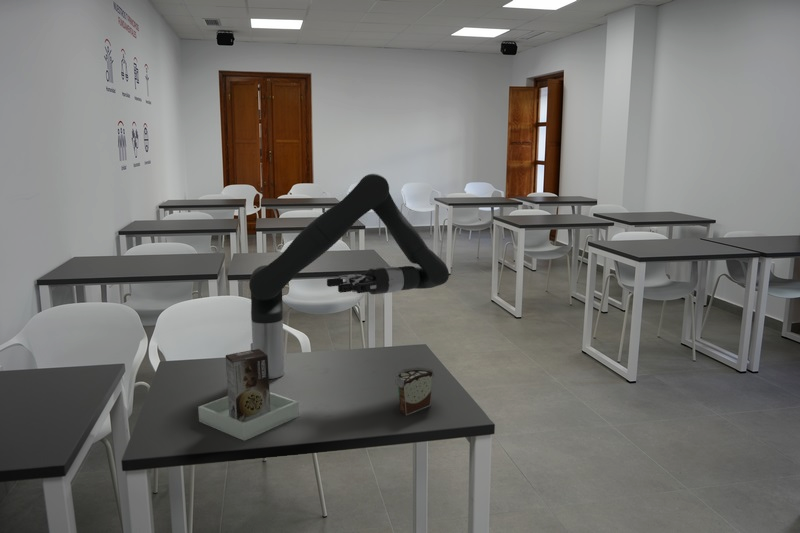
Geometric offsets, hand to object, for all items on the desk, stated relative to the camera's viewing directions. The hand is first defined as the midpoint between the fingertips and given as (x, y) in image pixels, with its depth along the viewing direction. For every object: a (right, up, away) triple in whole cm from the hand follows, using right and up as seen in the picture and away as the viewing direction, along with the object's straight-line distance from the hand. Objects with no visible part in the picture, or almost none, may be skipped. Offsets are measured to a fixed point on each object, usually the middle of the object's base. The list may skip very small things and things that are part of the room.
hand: (332, 285), depth 179 cm
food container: (+21, -32, -9) cm, 40 cm away
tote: (-20, -33, -16) cm, 42 cm away
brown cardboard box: (-20, -33, -16) cm, 41 cm away
